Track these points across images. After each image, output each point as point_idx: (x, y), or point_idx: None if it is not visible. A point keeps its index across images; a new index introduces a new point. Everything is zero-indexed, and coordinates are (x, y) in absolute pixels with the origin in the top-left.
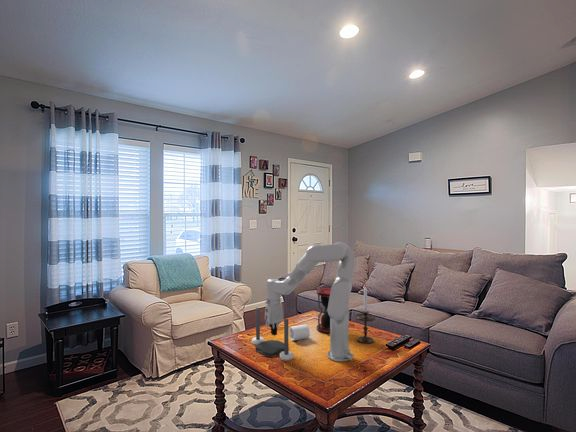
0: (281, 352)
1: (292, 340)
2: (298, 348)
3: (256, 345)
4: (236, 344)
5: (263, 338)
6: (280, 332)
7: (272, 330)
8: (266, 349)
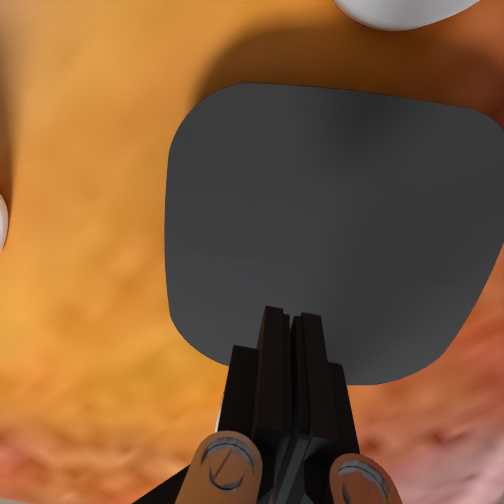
0: (424, 12)
1: (6, 213)
2: (69, 4)
3: (392, 378)
4: (396, 484)
5: None
6: (3, 393)
7: (351, 425)
8: (454, 242)
